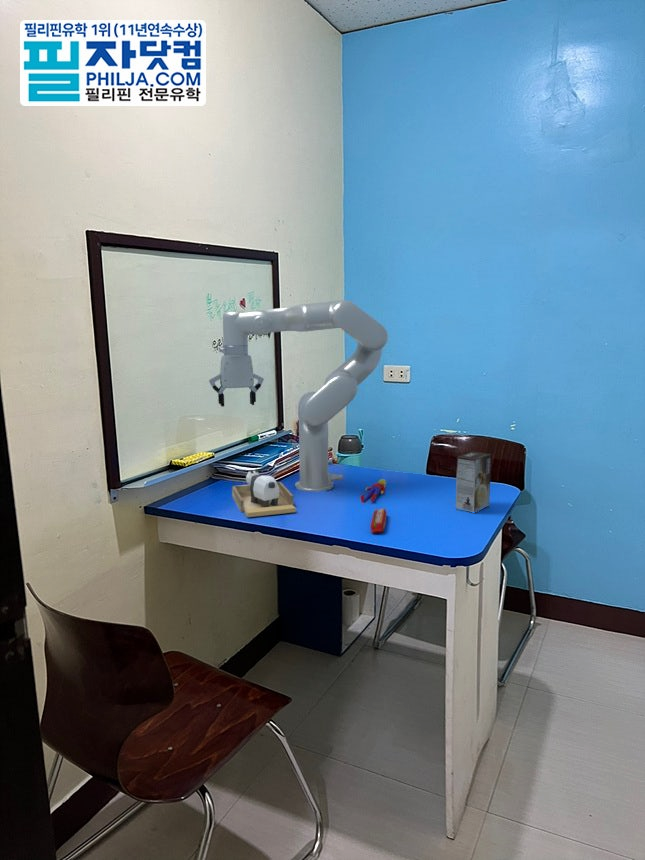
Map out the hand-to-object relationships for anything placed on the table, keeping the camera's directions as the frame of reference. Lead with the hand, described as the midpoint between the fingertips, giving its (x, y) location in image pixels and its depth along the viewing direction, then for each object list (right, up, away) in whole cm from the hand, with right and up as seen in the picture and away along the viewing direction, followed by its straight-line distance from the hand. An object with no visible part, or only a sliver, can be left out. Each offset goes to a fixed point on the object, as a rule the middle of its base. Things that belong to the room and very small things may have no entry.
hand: (237, 405), depth 201 cm
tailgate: (+11, -31, -18) cm, 38 cm away
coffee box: (+71, -31, -15) cm, 79 cm away
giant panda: (+9, -30, -9) cm, 33 cm away
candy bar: (+42, -34, -28) cm, 61 cm away
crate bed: (+9, -30, -9) cm, 33 cm away
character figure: (+44, -29, 0) cm, 53 cm away
